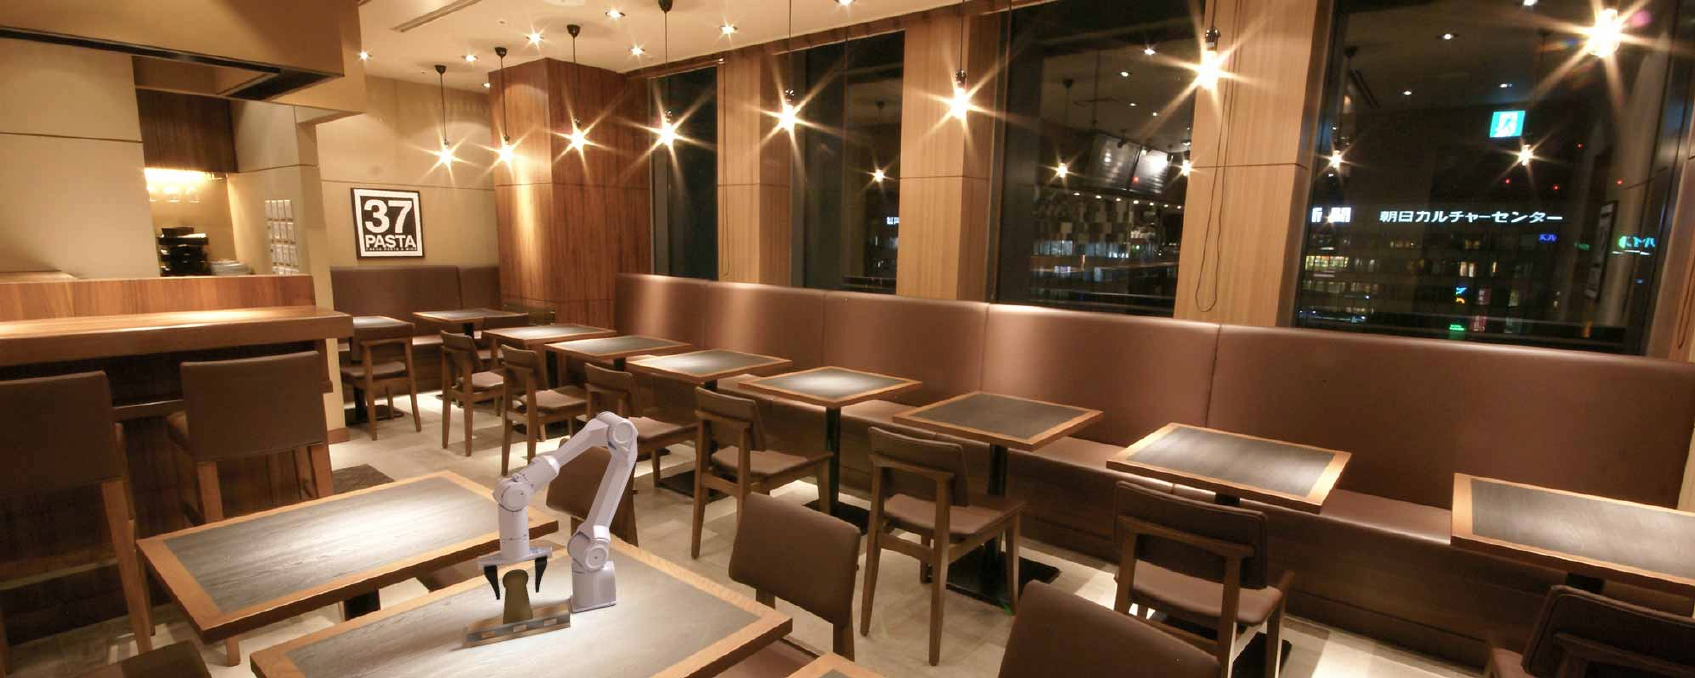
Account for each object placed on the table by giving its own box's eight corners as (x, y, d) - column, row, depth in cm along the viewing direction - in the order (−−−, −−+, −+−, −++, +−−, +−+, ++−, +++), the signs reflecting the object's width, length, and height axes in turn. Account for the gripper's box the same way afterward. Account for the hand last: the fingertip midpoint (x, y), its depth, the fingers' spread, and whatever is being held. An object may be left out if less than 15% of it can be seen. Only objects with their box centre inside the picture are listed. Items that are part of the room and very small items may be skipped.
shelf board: (567, 607, 169) (566, 595, 169) (570, 626, 161) (570, 614, 161) (468, 626, 161) (467, 613, 160) (467, 648, 153) (466, 634, 152)
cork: (496, 624, 160) (493, 576, 158) (514, 610, 166) (511, 564, 164) (521, 628, 159) (518, 579, 157) (538, 613, 165) (536, 567, 163)
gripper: (549, 522, 165) (552, 579, 167) (476, 533, 159) (480, 592, 161) (551, 534, 159) (554, 593, 161) (475, 546, 153) (480, 607, 155)
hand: (518, 594), depth 161 cm, fingers open, 7 cm apart
